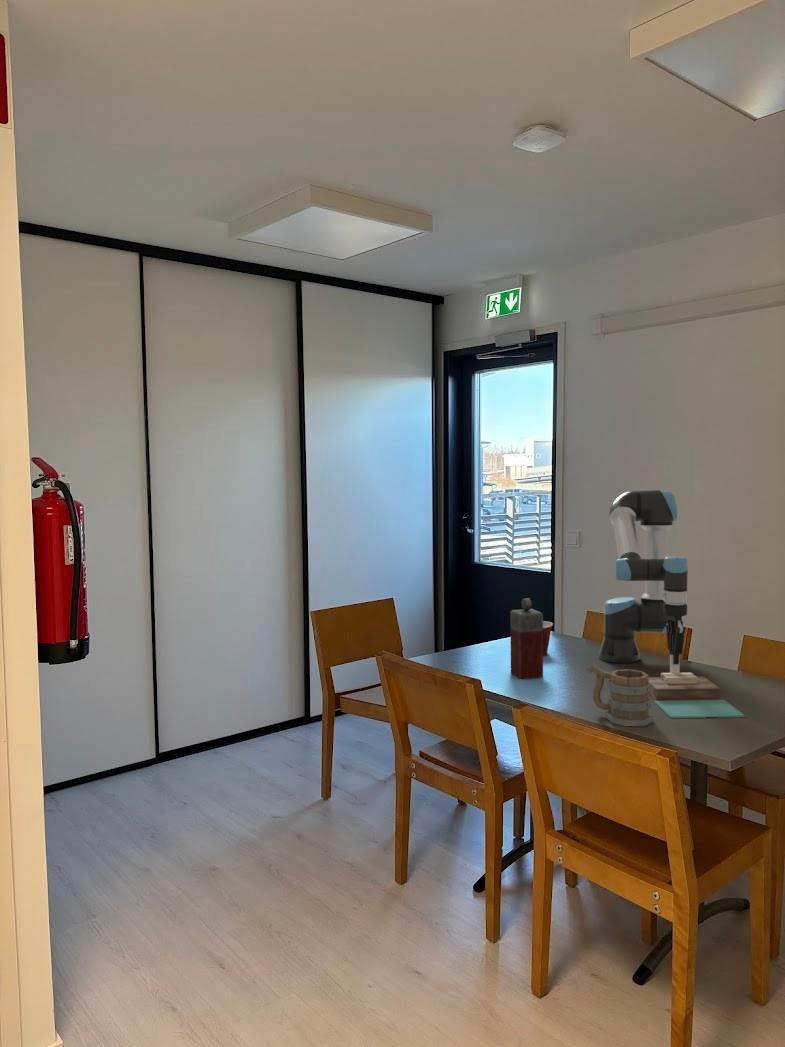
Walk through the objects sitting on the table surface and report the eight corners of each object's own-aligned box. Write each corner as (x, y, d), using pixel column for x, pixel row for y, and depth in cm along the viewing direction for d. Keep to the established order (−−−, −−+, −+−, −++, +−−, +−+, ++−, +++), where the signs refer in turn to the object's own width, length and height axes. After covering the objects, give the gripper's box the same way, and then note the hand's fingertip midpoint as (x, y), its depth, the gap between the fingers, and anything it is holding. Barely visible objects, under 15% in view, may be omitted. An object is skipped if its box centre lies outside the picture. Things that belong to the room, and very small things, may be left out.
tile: (660, 678, 273) (660, 672, 272) (690, 678, 272) (690, 672, 272) (666, 683, 267) (666, 677, 266) (697, 683, 266) (697, 677, 266)
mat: (654, 702, 260) (654, 700, 260) (723, 701, 260) (723, 699, 260) (670, 718, 244) (670, 716, 244) (744, 717, 244) (744, 715, 244)
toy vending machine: (549, 677, 292) (549, 599, 290) (519, 679, 289) (519, 601, 287) (539, 670, 301) (538, 595, 298) (510, 673, 298) (509, 597, 296)
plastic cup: (520, 651, 331) (520, 621, 330) (544, 648, 335) (544, 619, 334) (533, 657, 321) (533, 627, 320) (558, 654, 324) (557, 624, 323)
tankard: (658, 718, 244) (659, 669, 243) (639, 729, 235) (640, 678, 234) (597, 706, 257) (597, 659, 256) (577, 716, 248) (577, 667, 247)
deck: (643, 689, 275) (643, 677, 274) (703, 688, 274) (703, 676, 274) (656, 701, 261) (656, 689, 260) (719, 700, 260) (719, 688, 260)
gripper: (657, 599, 278) (657, 668, 280) (670, 606, 265) (669, 678, 267) (679, 599, 278) (679, 668, 279) (693, 606, 265) (692, 678, 267)
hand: (674, 673), depth 273 cm, fingers closed
